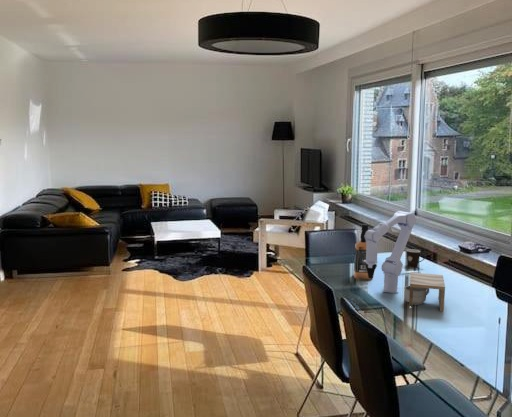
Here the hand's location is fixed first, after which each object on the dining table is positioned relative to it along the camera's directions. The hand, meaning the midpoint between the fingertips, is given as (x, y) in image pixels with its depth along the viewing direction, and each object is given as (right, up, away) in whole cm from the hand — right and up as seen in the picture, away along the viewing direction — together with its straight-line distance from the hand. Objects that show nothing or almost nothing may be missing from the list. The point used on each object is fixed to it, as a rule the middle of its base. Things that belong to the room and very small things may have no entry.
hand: (370, 278), depth 272 cm
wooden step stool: (+26, -11, -11) cm, 30 cm away
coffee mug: (+42, -1, +62) cm, 75 cm away
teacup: (+22, -11, -10) cm, 26 cm away
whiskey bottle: (+3, -5, +36) cm, 36 cm away
